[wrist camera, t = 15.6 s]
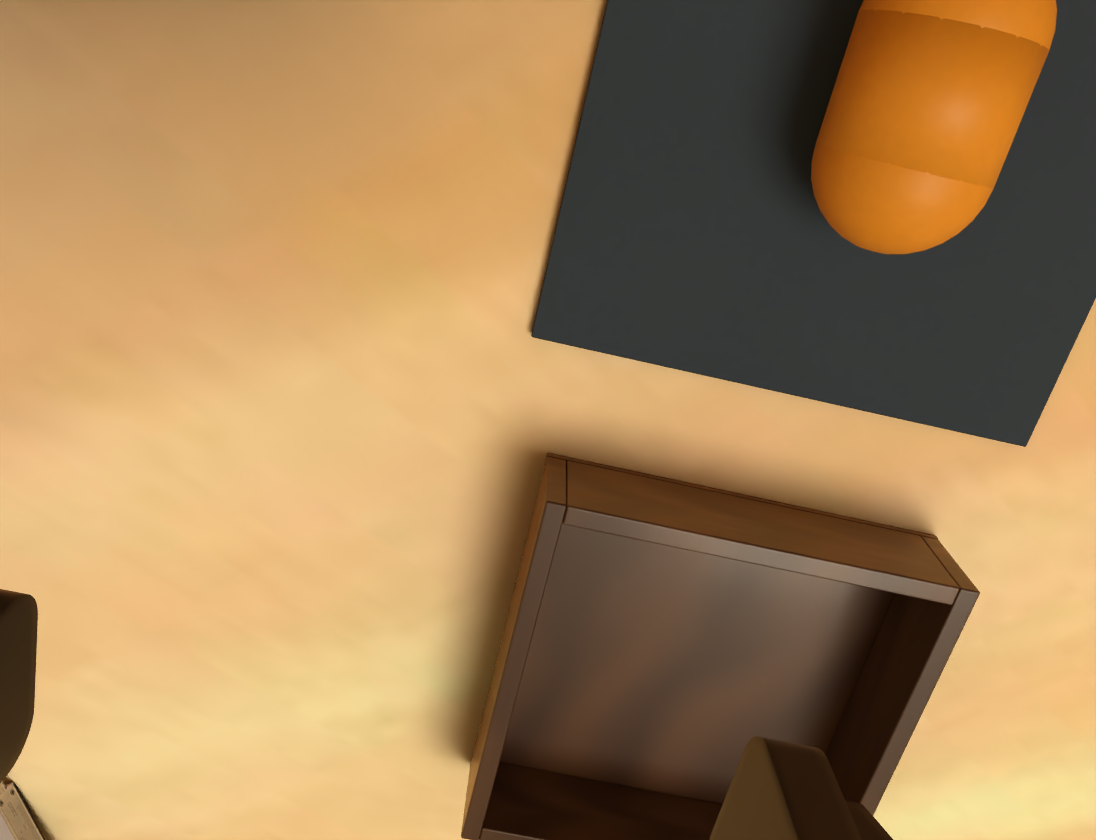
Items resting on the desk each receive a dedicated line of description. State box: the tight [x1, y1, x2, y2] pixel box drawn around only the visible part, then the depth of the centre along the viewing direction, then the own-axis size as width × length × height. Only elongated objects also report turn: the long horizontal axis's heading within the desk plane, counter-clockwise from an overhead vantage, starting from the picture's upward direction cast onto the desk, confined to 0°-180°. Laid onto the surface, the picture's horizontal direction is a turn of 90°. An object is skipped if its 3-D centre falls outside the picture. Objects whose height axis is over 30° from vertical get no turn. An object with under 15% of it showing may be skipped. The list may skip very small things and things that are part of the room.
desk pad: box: [531, 0, 1096, 447], centre depth 30 cm, size 20×22×1 cm
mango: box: [811, 0, 1057, 254], centre depth 27 cm, size 6×10×6 cm, turn 167°
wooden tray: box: [461, 453, 980, 840], centre depth 37 cm, size 17×17×4 cm
